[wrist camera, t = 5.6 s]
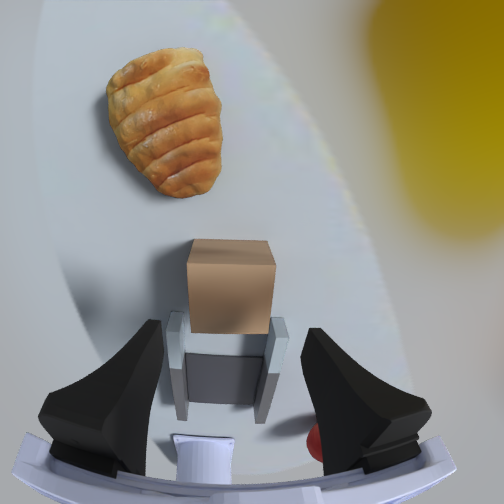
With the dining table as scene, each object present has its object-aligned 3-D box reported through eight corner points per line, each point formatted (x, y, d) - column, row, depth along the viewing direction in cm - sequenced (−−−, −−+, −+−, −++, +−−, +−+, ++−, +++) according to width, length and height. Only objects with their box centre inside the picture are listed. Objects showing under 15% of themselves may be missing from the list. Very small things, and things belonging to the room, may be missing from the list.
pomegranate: (351, 402, 28) (371, 453, 21) (337, 425, 31) (353, 471, 23) (306, 408, 28) (321, 465, 20) (297, 431, 30) (308, 481, 23)
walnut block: (261, 300, 21) (268, 333, 17) (196, 299, 21) (191, 332, 17) (266, 240, 19) (276, 265, 15) (194, 238, 19) (186, 263, 15)
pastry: (247, 173, 17) (251, 182, 14) (153, 210, 18) (136, 228, 14) (199, 47, 14) (191, 26, 10) (107, 90, 14) (80, 82, 10)
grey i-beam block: (262, 405, 27) (264, 423, 24) (179, 401, 25) (177, 420, 23) (283, 317, 22) (289, 337, 19) (171, 311, 21) (165, 331, 18)
